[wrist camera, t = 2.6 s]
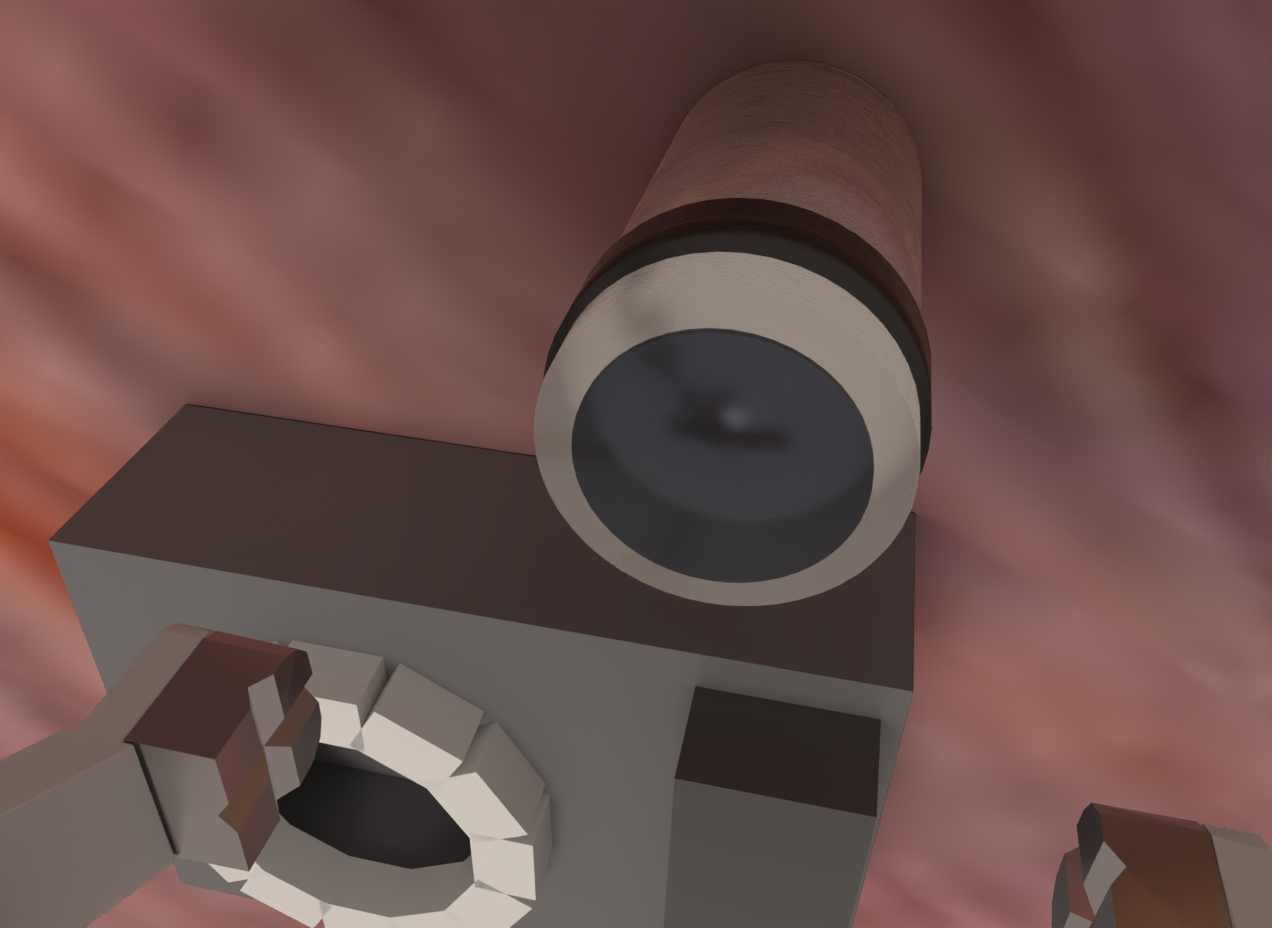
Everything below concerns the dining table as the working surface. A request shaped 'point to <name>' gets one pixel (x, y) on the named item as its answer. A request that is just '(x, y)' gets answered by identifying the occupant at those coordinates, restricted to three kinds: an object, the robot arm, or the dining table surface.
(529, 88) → the dining table surface
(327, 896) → the camera body
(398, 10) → the dining table surface
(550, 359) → the lens
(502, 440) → the dining table surface
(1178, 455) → the dining table surface
